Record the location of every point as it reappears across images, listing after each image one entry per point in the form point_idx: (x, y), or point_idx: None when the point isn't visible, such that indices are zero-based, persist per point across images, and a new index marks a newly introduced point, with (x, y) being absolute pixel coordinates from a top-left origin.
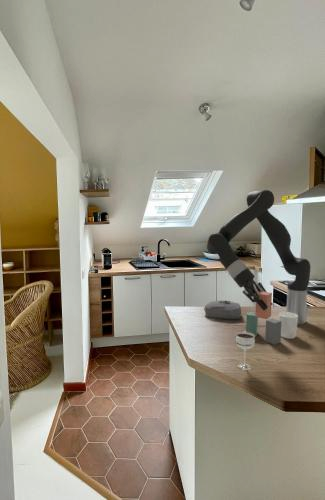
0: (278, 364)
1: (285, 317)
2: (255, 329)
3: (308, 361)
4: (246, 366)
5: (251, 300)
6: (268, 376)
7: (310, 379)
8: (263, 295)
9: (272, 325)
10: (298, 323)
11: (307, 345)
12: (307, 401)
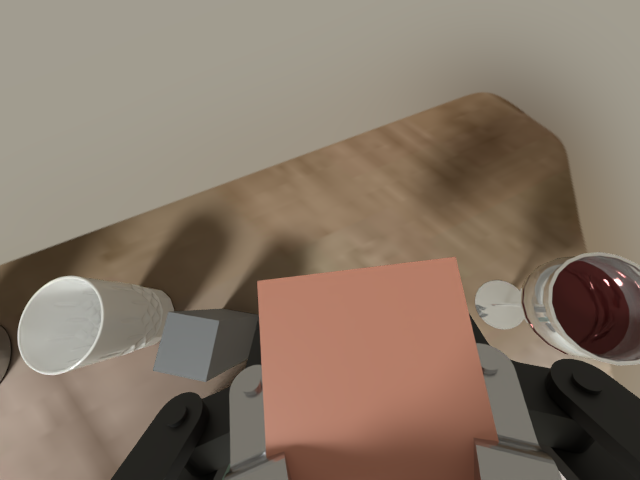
0: (391, 234)
1: (106, 319)
2: None
3: (303, 184)
4: (504, 294)
5: (602, 450)
6: (487, 219)
7: (404, 140)
8: (468, 329)
9: (223, 334)
10: (4, 336)
11: (190, 232)
12: (513, 104)
